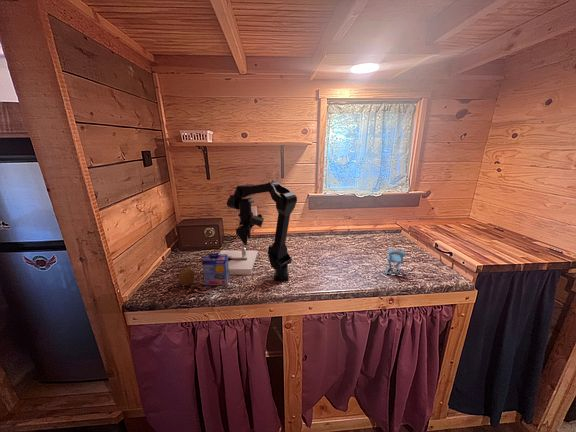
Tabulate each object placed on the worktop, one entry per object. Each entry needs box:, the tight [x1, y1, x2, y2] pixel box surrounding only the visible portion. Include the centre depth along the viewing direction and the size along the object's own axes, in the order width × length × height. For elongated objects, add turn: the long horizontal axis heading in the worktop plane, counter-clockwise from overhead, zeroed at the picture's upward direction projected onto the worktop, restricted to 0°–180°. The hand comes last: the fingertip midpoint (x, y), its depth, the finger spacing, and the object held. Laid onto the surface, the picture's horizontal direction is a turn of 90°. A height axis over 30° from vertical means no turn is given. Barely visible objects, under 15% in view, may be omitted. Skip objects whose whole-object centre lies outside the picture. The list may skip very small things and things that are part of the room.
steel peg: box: [241, 246, 247, 261], centre depth 114 cm, size 4×4×9 cm
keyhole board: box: [218, 249, 259, 276], centre depth 115 cm, size 20×20×3 cm
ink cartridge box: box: [201, 253, 230, 286], centre depth 98 cm, size 10×6×14 cm, turn 94°
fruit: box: [178, 267, 195, 287], centre depth 97 cm, size 6×6×8 cm
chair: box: [384, 247, 406, 277], centre depth 107 cm, size 8×8×12 cm
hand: (247, 241), depth 113 cm, fingers open, 9 cm apart
